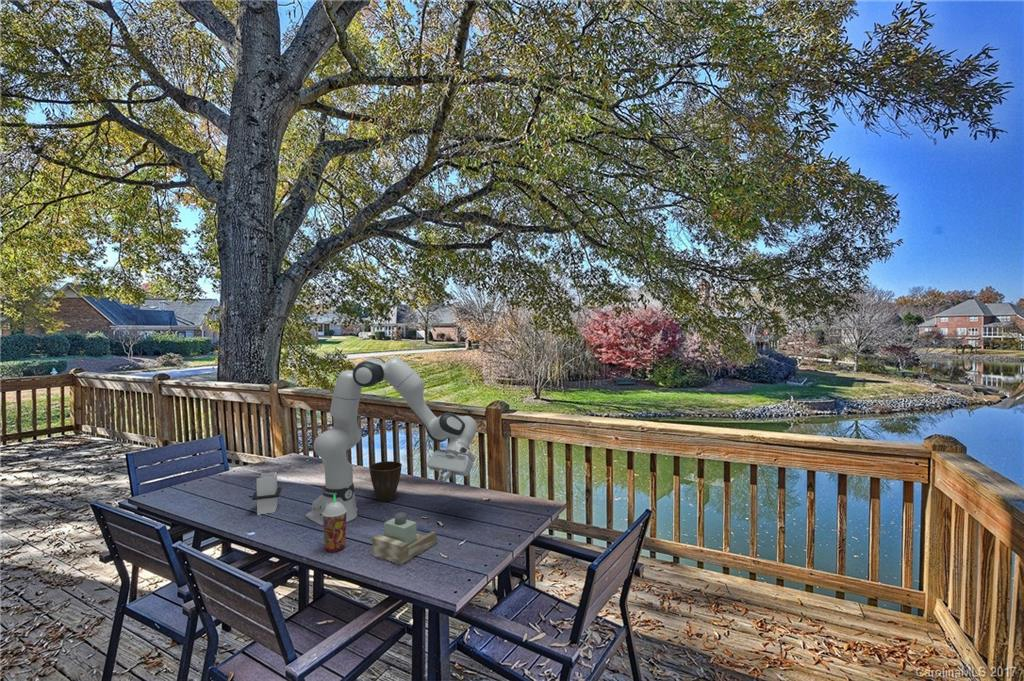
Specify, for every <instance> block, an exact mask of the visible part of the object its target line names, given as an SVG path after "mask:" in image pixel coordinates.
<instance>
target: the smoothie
mask: <svg viewBox="0 0 1024 681" xmlns="http://www.w3.org/2000/svg"><path fill="white" fill-rule="evenodd" d="M346 515H347V509H345V507H344V505H343V504H342V503H340V502H336V500H335V495H334V502H332V503H330V504H328V505H327V506H326V508H325V510H324V512H323V524H324V525H323V534H324V544H325V545H324V546H325V549H326V550H328V551H327V552H329V551H330V553H336V552H339V550H340V551H342V550H343V549H344V547H345V545H346V533H347V532H346V531H347V522H346Z"/></svg>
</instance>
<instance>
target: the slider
mask: <svg viewBox="0 0 1024 681" xmlns="http://www.w3.org/2000/svg"><path fill="white" fill-rule="evenodd" d="M383 525H384V532H383V533H384V536H386V537H389V538H392V539H396V540H399V541H402V542H405V543H407V545H410V544H412V543H414V542H415V541H417V534H418V533H417V532H418V530H417V529H418V526H417V522H416V521H412V520H410V519H409V520H408V519H407V513H406V512H404V511H402V512H401V511H398V512H396V513H394V518H391V519H389V520H387V521H385V522H384V524H383Z"/></svg>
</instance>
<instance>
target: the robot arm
mask: <svg viewBox="0 0 1024 681" xmlns="http://www.w3.org/2000/svg"><path fill="white" fill-rule="evenodd" d="M383 381H385V382H387V383H388V384H390V385H391V387H393V389H395V390H396V392H397V393H398V394H399V395H400V396H401V397H402V399H403V400H404V402H405V403H406V404H407V405H408V407H409V408H410V410H411V411H412V412H413V414H414V415H415V416H416V417H417V418H418V420H419V422H421V424H422V425H423V426H424V428H425V430H426V433H427V436H428V437H429V438H430V439H431V441H433V442H435V443H442V442H445V441H447V439H449V441H448V444H447V445H446V448H445V449H441V448H439V449H437V450H434V452H433V453H432V454H431V456H430V458H429V459H428V461H427V462H426V466H427V467H428V469H429V470H431V471H436V472H438V474H439V475H438V478H437V481H438V482H439V483H444V484H445V483H446V482H447V480H448V479H449V478H451V477H452V475H457V476H461V477H467V476H469V475H470V473H471V472H472V469H473V465H474V461H475V460H476V457H475V455H474V454H473V453H472V451H471V450H470V445H471V444H472V443H473V441H474V438H475V437H476V433H477V430H478V423H477V421H476V420H475V419H474V418H473V417H472V416H469V415H457V414H455V413H453V412H448V411H446V412H444V413H443V414H441V415H440V416H438V417H437V416H436V415H435V414H434V413H433V411H432V410H431V409H430V408H429V407H428V405H427V403H426V402H425V399H424V391H425V383H424V380H422V378H421V377H420V375H419V374H418V373H417V372H416V371H415V370H414V369H413V367H412V366H410V365H409V364H408V363H407V362H405V361H404V360H403V359H401V358H400V357H392V358H389V359H388V360H387V361H385V360H384V359H382V358H379V357H370V358H367V359H364V360H363V361H360V362H359V363H358V364H357V365H356V366H355V367H354V368H353V370H351V369H349V370H344V371H341V372H339V374H338V377H337V379H336V381H335V385H334V388H333V393H332V398H331V404H330V409H329V413H330V415H331V417H332V418H333V427H332V428H331V429H327V430H325V431H323V432H322V433H320V434H319V435H318V436H317V437H316V438H315V439H314V440H313V441H314V442H313V451H314V453H315V454H316V455H317V456H318V457H320V459H321V461H322V464H323V468H324V480H325V481H324V482H325V483H324V484H325V485H324V486H322V487H321V490H323V491H322V494H321V495H320V496H318V497H317V498H316V499H314V501H313V502H312V504H311V511H309V512H307V513H306V514H305V517H306V518H307V517H308V518H307V519H309V520H310V521H312V522H314V523H315V524H317V525H320V526H324V524H323V512H324V510H325V508H326V506H327V505H328V504H330V503H332V502H334V495H335V500H336V502H340V503H342V504H343V505H344V507H345V509H347V515H346V523H348V522H351V521H353V520H354V519H356V518H357V517H358V510H359V508H358V507H357V504H356V501H357V500H356V494H355V493H354V492H355V483H354V482H353V481H354V479H353V478H354V477H353V474H354V472H353V471H354V470H353V464H352V463H351V462H349V460H348V457H347V451H348V450H350V449H353V448H354V447H355V446H357V444H358V443H359V442H360V441H361V438H362V431H361V429H360V428H359V424H358V410H359V405H360V399H361V394H362V390H363V388H369V387H370V388H371V387H372V386H375V385H377V384H379V383H381V382H383Z"/></svg>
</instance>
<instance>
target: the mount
mask: <svg viewBox="0 0 1024 681" xmlns="http://www.w3.org/2000/svg"><path fill="white" fill-rule="evenodd" d="M436 543H437V544H438V539H437V531H435V530H434V531H433V530H432V531H431V532H429V533H428V534H425V535H424V534H420V533H417V541H415V542H414V543H412V544H410V545H407V543H405V542H402V541H399V540H396V539H392V538H389V537H386V536H385V535H381V534H379V533H378V534H377V535H374V536H373V537H371V546H372V547H371V549H372V550H371V551H372V552H371V553H372V554H371V555H372V556H373V557H376V558H378V557H379V558H378V559H381V558H383V559H382V560H384V559H386V560H385V561H387V560H389V561H388V562H390V561H392V562H391V563H393V562H395V563H394V564H396V563H398V564H397V565H399V564H401V565H400V566H403V565H405V564H406V563H408V562H409V561H411V560H413V559H414V558H415V557H414V556H416V555H418V554H419V555H421V554H422V553H424V552H426V551H427V550H429V549H431V548H432V547H434V546H436V545H437V544H436ZM433 545H434V546H433ZM431 546H432V547H431ZM430 547H431V548H430ZM428 548H429V549H428ZM426 549H427V550H426ZM425 550H426V551H425ZM423 551H424V552H423ZM421 552H422V553H421ZM420 553H421V554H420ZM419 555H418V556H419ZM413 557H414V558H413ZM416 557H417V556H416ZM412 558H413V559H412ZM410 559H411V560H410ZM408 560H409V561H408ZM407 561H408V562H407ZM405 562H406V563H405ZM404 563H405V564H404ZM402 564H403V565H402Z"/></svg>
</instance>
